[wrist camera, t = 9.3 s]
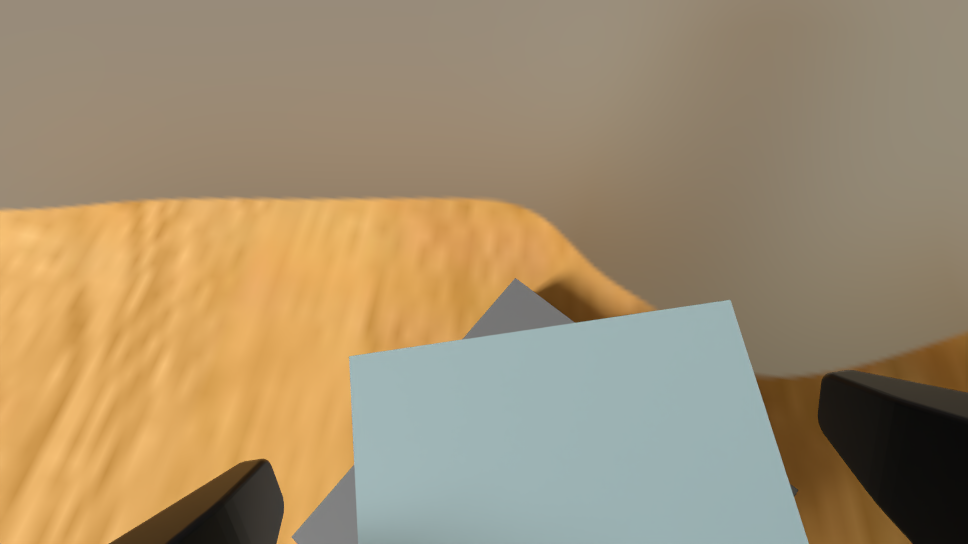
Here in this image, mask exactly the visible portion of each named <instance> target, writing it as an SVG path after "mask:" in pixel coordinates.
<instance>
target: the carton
mask: <svg viewBox="0 0 968 544" xmlns="http://www.w3.org/2000/svg"><path fill="white" fill-rule="evenodd" d="M349 361H350V383H351V404H352V425H353V446H354V467H355V488H356V509H357V530H358V544H809V543H808V539H807V536H806V533H805V530H804V527H803V524H802V521H801V518H800V515H799V511H798V508H797V505H796V502H795V499H794V496H793V493H792V490H791V487H790V483H789V480H788V477H787V474H786V471H785V468H784V465H783V462H782V459H781V455H780V452H779V449H778V446H777V443H776V440H775V437H774V434H773V431H772V427H771V424H770V421H769V418H768V415H767V412H766V409H765V406H764V403H763V399H762V396H761V393H760V390H759V387H758V384H757V381H756V378H755V375H754V371H753V368H752V365H751V362H750V359H749V356H748V353H747V350H746V347H745V344H744V341H743V337H742V334H741V331H740V328H739V325H738V322H737V319H736V316H735V312H734V309H733V306H732V304H731V300H725V301H720V302H712V303H705V304H699V305H692V306H685V307H678V308H672V309H665V310H658V311H652V312H645V313H638V314H631V315H625V316H618V317H611V318H604V319H598V320H591V321H584V322H578V323H571V324H564V325H557V326H551V327H544V328H537V329H531V330H524V331H517V332H510V333H504V334H497V335H490V336H483V337H477V338H470V339H463V340H457V341H450V342H443V343H436V344H430V345H423V346H416V347H410V348H403V349H396V350H389V351H383V352H376V353H369V354H362V355H356V356H349Z"/></svg>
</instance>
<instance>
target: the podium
mask: <svg viewBox="0 0 968 544" xmlns="http://www.w3.org/2000/svg"><path fill="white" fill-rule="evenodd" d="M571 323H575V322H573V321H572V320H571V319H569V318H568V317H567V316H565V315H564V314H563V313H561V312H560V311H559V310H557V309H556V308H555V307H553V306H552V305H551V304H549V303H548V302H547V301H545V300H544V299H543V298H541V297H540V296H539V295H537V294H536V293H535V292H533V291H532V290H531V289H529V288H528V287H527V286H525V285H524V284H523V283H521V282H520V281H519V280H517V279H516V278H515V279H514V280H513V281H512V283H511V284H510V285H509V286H508V287H507V288H506V290H505V291H504V292H503V293H502V294H501V295H500V297H499V298H498V299H497V300H496V301H495V302H494V303H493V305H492V306H491V307H490V308H489V309H488V310H487V312H486V313H485V314H484V315H483V316H482V317H481V318H480V320H479V321H478V322H477V323H476V324H475V325H474V327H473V328H472V329H471V330H470V331H469V332H468V334H467V335H466V336H465V337H464V338H463V339H470V338H477V337H483V336H490V335H497V334H504V333H510V332H517V331H524V330H531V329H537V328H544V327H551V326H557V325H564V324H571ZM463 339H462V340H463ZM790 487H791V490H792V493H793V496H795V495H796V493H797V492H798V489H796V488H795V487H794V486H792V485H791V484H790ZM292 538H293V539H294V540H295V541H296V542H297V544H358V530H357V509H356V488H355V467H354V465H353V467H352V468H351V469H350V470H349V471H348V472H347V474H346V475H345V476H344V477H343V478H342V479H341V480H340V482H339V483H338V484H337V485H336V486H335V487H334V489H333V490H332V491H331V492H330V493H329V494H328V496H327V497H326V498H325V499H324V500H323V501H322V502H321V504H320V505H319V506H318V507H317V508H316V509H315V511H314V512H313V513H312V514H311V515H310V516H309V518H308V519H307V520H306V521H305V522H304V523H303V524H302V526H301V527H300V528H299V529H298V530H297V531H296V533H295V534H294V535H293V536H292Z"/></svg>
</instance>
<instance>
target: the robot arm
mask: <svg viewBox="0 0 968 544" xmlns="http://www.w3.org/2000/svg"><path fill="white" fill-rule="evenodd" d="M818 421H819V425H820V427H821V430H822V431H823V433H824V435H825V436H826V437H827V439H828V440H829V441H830V443H831V444H832V445H833V447H834V448H835V449H836V451H837V452H838V453H839V455H840V456H841V457H842V459H843V460H844V461H845V463H846V464H847V465H848V467H849V468H850V469H851V471H852V472H853V473H854V475H855V476H856V477H857V479H858V480H859V481H860V483H861V484H862V485H863V487H864V488H865V489H866V491H867V492H868V493H869V495H870V496H871V497H872V498H873V500H874V501H875V502H876V503H877V505H878V506H879V507H880V508H881V509H882V510H883V512H884V513H885V514H886V515H887V516H888V517H889V518H890V519H891V520H892V522H893V523H894V524H895V525H896V526H897V527H898V528H899V529H900V530H901V531H902V532H903V534H904V535H905V536H906V537H907V538H908V539H909V540H910V541H911V542H912V543H913V544H968V393H966V392H961V391H956V390H951V389H946V388H941V387H936V386H931V385H926V384H920V383H915V382H910V381H905V380H900V379H895V378H890V377H885V376H880V375H875V374H870V373H865V372H860V371H854V370H845V371H838V372H832V373H827V374H826V375H825V376H824V377H823V379H822V382H821V391H820V399H819V408H818ZM283 513H284V501H283V496H282V493H281V490H280V488H279V485H278V482H277V480H276V477H275V474H274V471H273V469H272V466H271V464H270V463H269V461H268V460H266V459H257V460H251V461H244V462H242V463H239V464H238V465H236V466H234V467H233V468H231V469H229V470H228V471H226V472H225V473H223V474H221V475H220V476H218V477H216V478H215V479H213V480H212V481H210V482H208V483H207V484H205V485H203V486H202V487H200V488H199V489H197V490H195V491H194V492H192V493H191V494H189V495H187V496H186V497H184V498H182V499H181V500H179V501H178V502H176V503H174V504H173V505H171V506H169V507H168V508H166V509H165V510H163V511H161V512H160V513H158V514H156V515H155V516H153V517H152V518H150V519H148V520H147V521H145V522H144V523H142V524H140V525H139V526H137V527H135V528H134V529H132V530H131V531H129V532H127V533H126V534H124V535H122V536H121V537H119V538H118V539H116V540H114V541H113V542H111V543H109V544H276V543H277V539H278V535H279V530H280V526H281V522H282V518H283Z"/></svg>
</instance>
